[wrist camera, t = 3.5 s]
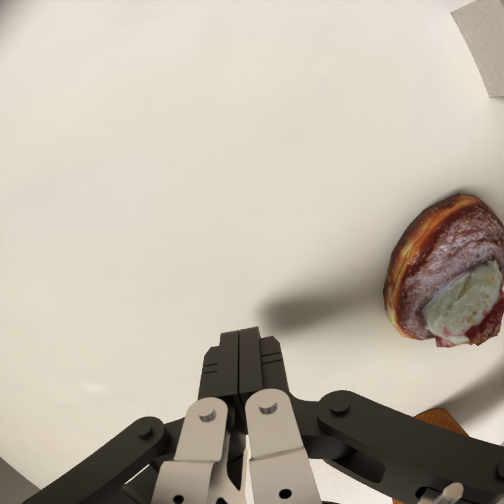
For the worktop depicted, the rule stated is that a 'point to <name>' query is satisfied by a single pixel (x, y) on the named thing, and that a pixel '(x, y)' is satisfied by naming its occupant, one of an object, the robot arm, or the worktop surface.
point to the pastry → (448, 274)
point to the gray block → (485, 40)
